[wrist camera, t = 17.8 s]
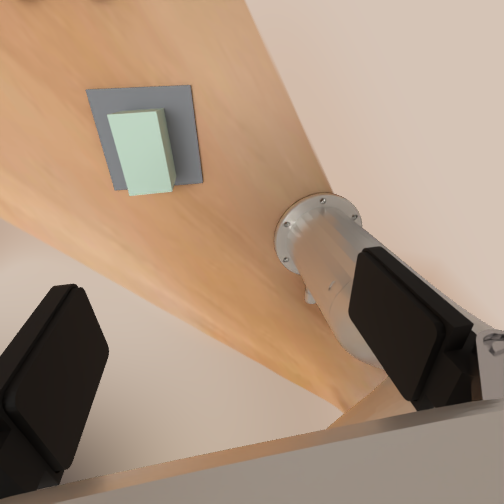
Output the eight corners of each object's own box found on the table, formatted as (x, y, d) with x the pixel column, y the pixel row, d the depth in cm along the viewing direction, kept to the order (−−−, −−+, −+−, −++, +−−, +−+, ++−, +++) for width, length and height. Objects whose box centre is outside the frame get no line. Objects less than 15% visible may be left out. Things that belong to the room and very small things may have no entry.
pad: (202, 181, 34) (202, 182, 33) (116, 189, 33) (114, 190, 32) (190, 85, 29) (190, 85, 28) (87, 89, 28) (85, 89, 27)
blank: (176, 175, 32) (172, 191, 27) (140, 179, 32) (129, 195, 27) (163, 108, 29) (156, 111, 24) (123, 110, 28) (106, 114, 23)
